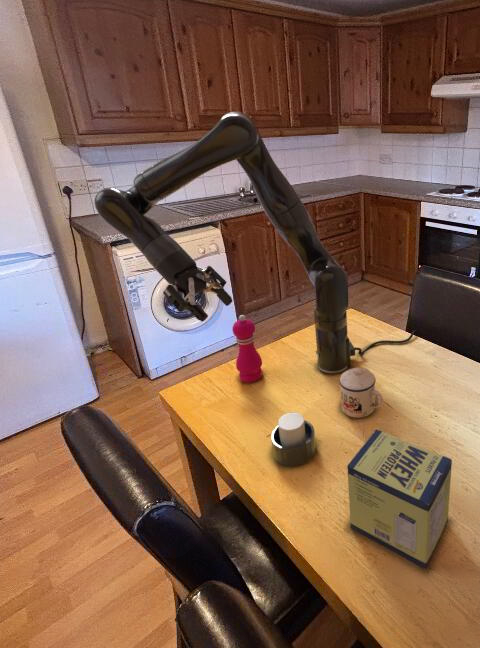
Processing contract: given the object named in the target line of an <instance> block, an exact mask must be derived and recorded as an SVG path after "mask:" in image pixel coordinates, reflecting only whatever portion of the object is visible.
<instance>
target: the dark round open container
mask: <svg viewBox="0 0 480 648" xmlns="http://www.w3.org/2000/svg"><path fill="white" fill-rule="evenodd" d="M304 424H305V434H306V443H304V444H302V445H300V446H298V447H294V448H286V447H281V441H280V434H279V426H278V425H277V426H275V427H274V429H273V430H272V431H271V435H270V438H271V444H272V452H273V457H274V459H275V461H276V462H277V463H278V464H279V465H281V466H283V467H288V468H294V467H299V466H301V465H304V464H307V463H308V462H309V461H311V459H312V458H313V457H314V455H315V453H316V450H317V449H316V448H317V443H316V434H315V427H314V425H312V423H311V422H310V421H308V420H306V419H304Z"/></svg>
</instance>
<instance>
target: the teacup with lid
mask: <svg viewBox="0 0 480 648" xmlns="http://www.w3.org/2000/svg"><path fill="white" fill-rule="evenodd" d="M338 380H339V382H338V383H339V385H340V400H341V410H342V412H343V413H344V414H345V415H347V416H348V417H350V418H354V419H355V418H357V419H360V418H364V417H367V416H370V415H371V414H372V413H373V412H374V411H375V409H379V408H380V407H381V406H383V403H384V398H383V395H382V394H381V392H379V391H378V390H376V389H375V388H376V385H375V384H376V381H377V380H376V376H375V374H374V373H373V372H372V371H370V370H368V369H367V368H362V367H353V368H349V369H346V370H345V371H343V373H342V374H341V375H340V377H339V379H338ZM376 397H377V399H378V403H376Z"/></svg>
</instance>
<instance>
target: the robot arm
mask: <svg viewBox="0 0 480 648" xmlns="http://www.w3.org/2000/svg"><path fill="white" fill-rule="evenodd" d="M234 161H236V162H237V163H238V164H239V166H240V167H241V168H242V169H243V171H244V173H245V174H246V175H247V177H248V179H249V181H250V183H251V185H252V188H253V190H254V192H255V195H256V197H257V199H258V201H259V203H260V205H261V207H262V209H263V211H264V213H265V215H266V217H267V218H268V219H269V221H270V223H271V224H272V226H273V227H274V228H275V230H276V231H277V233H278V234H279V236H280V237H281V238H282V239H283V240H284V241H285V242H286V244H287V245H289V247H290V248H291V249H292V250H293V251H294V252H295V254H296V255H297V256H298V258H299V260H300V262H301V264H302V266H303V268H304V269H305V272H306V274H307V276H308V278H309V281H310V282H311V284H312V286H313V287H314V295H315V305H314V306H313V316H314V328H315V329H314V330H315V343H316V350H315V355H316V357H317V369H318V370H319V371H320V372H322V373H324V374H327V375H328V374H329V375H336V374H340V373H342V372H343V373H344V372H345V371H347V370H348V369H351V367H352V364H351V361H352V360H351V357H354V356H356V351H358V355H359V356H360V355H363V354H364V353H365V352H367V351H368V350H369V349H371V348H372V347H374V346H376V345H378V344H404V343H407V342H409V341H410V340H412V338H413V337H414V335H415V334H418V333H419V331H418V330H416V329H414V330H413V331H412V332H411V333H410V336H408V338H406V339H404V340H403V339H402V340H378V341H375V342H373V343H371V344H369V345H368V346H367V347H366V348H365V349H364V350H362V348H361V347H354V345H353V343H352V342H351V340H350V338H349V336H348V316H347V312H348V311H347V310H348V307H349V279H348V275H347V272H346V271H345V269H344V268H343V267H342V266H341V265H340V264H339V262H337V261H336V259H334V258H333V256H332V255H331V254H330V252H329V251H328V250H327V249H326V247H325V246H324V244H323V243H322V242H321V240H320V238H319V236H318V234H317V230H316V228H315V225H314V223H313V220H312V218H311V216H310V214H309V212H308V210H307V208H306V206H305V205H304V203H303V201H302V200H301V198H300V197H299V195H298V193H297V192H296V191H295V189H294V187H293V186H292V184H291V183H290V181H289V180H288V179H287V177H286V176H285V175H284V173H283V172H282V170H281V169H280V168H279V167H278V166H277V164H276V163H275V161H274V158H272V156H271V154H270V152H269V149H268V148H267V146H266V144H265V141H264V140H263V138H262V135H261V133H260V131H259V129H258V127H257V124H256V122H255V121H254V120H253V119H252V117H250V116H248V115H247V114H245V113H243V112H240V111H230V112H227V113H226V114H224V115H222V116H221V118H219V120H218V121H217V123H216V124H215V126H214V127H213V128H211V129H210V130H209V131H208V132H207V133H206V134H205V135H203V136H202V137H201V138H200V139H198V140H197V141H196V142H195V143H193V144H191V145H189V146H188V147H186V148H184V149H182V150H180V151H178V152H175V153H174V154H172V155H170V156H167V157H165V158H164V159H161V160H160V161H158V162H156V163H154V164H153V165H151V166H150V167H147V168H146V169H145V170H143V171H141V172H139V173H138V174H137V175H136V176H135V177H134V178H133V181H132V182H133V183H132V184H133V186H131V187H130V188H129V189H127V190H122V189H118V188H114V187H113V188H112V187H107V188H103V189H100V190H99V191H98V192H97V193H96V194H95V196H94V201H93V202H94V209H95V210H96V211H97V214H98V215H99V216H100V217H101V219H102V220H103V221H105V222H106V223H107V224H108V225H110V227H112V228H114V229H115V230H116V231H117V232H118V233H119V234H121V235H123V236H124V237H126V238H127V239H128V240H129V241H130V242H131V243H132V244H133V245H134V246H135V248H136V249H137V250H138V251H139V252H140V253H141V254H142V255H143V257H144V258H145V259H146V260H147V262H148V263H149V264H150V265H151V266H152V267H153V269H154V270H155V271H156V272H158V274H159V276H161V277H162V278H163V279H164V280H165V281H166V282H167V283H168V284H167V286H166V287H165V289H164V290H163V292H162V293H163V295H164V296H165V297H166V299H167V300H168V301H169V303H170V304H172V306H173V307H174V308H175V309H176V310H177V312H179V313H182V312H183V311H188V312H190V314H191V315H193V316H194V318H196V319H197V320H198V321H200V322H202V323H203V322H205V321H206V320H207V319H208V317H209V315H208V313H206V311H205V310H204V309H203V308H202V307H201V306H200V305H199V304H198V303H196V296H197V295H198V294H201V293H203V292H207V293H208V292H210V293H212V294H215V295H216V297H217V298H218V299H219V300H220V301H221V302H222V304H224V306H226V307H228V306H229V305H231V304H232V303H233V299H232V296H231V295H230V294H229V293H228V292H227V291H226V290H225V286H226V284H227V281H226V279H225V278H223V277H222V275H220V273H218V271H217V270H215V268H213V267H212V266H211V265H208V266H207V267H205V268H204V269H203V270H201V269H199V268H198V266H197V262H196V261H195V260H194V259H193V257H191V255H189V253H188V252H187V251H186V250H185V249H184V248H183V247H182V245H180V244H179V242H177V240H175V239H174V238H173V237H171V236H170V235H169V233H168V232H166V230H164V228H163V227H162V226H161V225H160V224H159V223H158V222H157V221H156V220H154V219H153V218H151V217H148V216H146V215H147V214H148V213H149V212H150V211H151V210H152V209H153V208H154V207H155V206H156V205H157V204H158V203H159V202H161V201H162V200H164V199H166V198H167V197H169V196H171V195H173V194H174V193H176V192H177V191H179V190H181V189H183V188H184V187H185V186H187V185H189V184H190V183H192V182H193V181H195V180H196V179H198V178H200V177H201V176H203V175H204V174H206V173H208V172H210V171H212V170H214V169H216V168H219V167H221V166H223V165H226V164H228V163H230V162H231V163H232V162H234ZM180 293H181V294H180Z"/></svg>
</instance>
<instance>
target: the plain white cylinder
mask: <svg viewBox="0 0 480 648" xmlns="http://www.w3.org/2000/svg"><path fill="white" fill-rule="evenodd" d="M304 420H305V418H304V416H303V415H302V414H301V413H299V412H296V411H295V412H293V411H292V412H287V413H285V414H283V415H282V416H280V418H279V419H278V421H277V424H278V425H277V426H279V434H280V441H281V447H286V448H294V447H298V446H300V445H302V444H304V443H306V434H305V424H304Z"/></svg>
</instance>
